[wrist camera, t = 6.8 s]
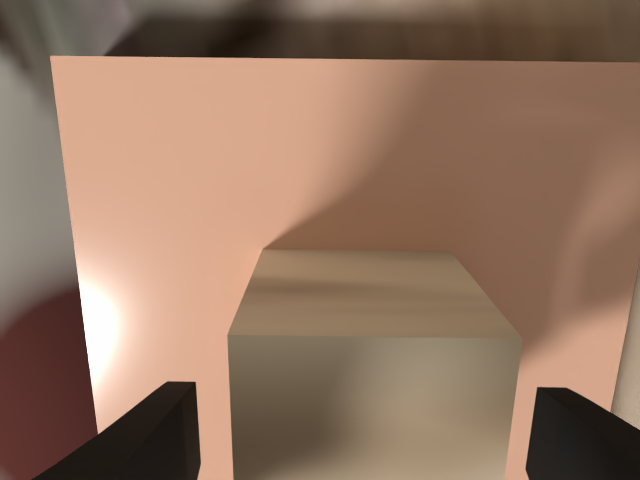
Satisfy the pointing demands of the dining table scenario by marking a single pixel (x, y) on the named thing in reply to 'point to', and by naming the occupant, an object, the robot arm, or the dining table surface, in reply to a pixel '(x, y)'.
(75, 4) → the dining table surface
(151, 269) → the terracotta base
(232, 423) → the birch block
